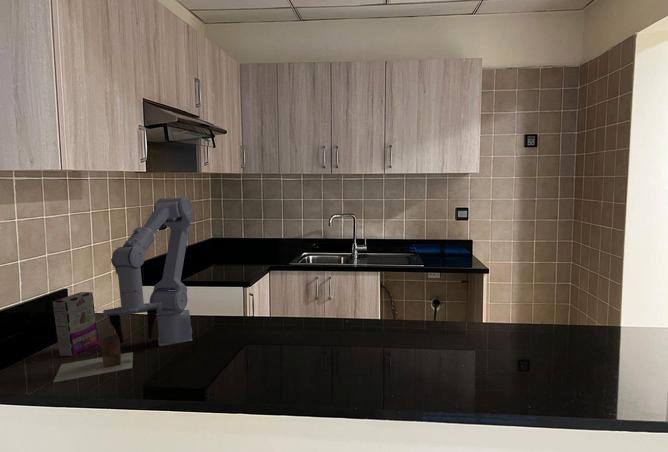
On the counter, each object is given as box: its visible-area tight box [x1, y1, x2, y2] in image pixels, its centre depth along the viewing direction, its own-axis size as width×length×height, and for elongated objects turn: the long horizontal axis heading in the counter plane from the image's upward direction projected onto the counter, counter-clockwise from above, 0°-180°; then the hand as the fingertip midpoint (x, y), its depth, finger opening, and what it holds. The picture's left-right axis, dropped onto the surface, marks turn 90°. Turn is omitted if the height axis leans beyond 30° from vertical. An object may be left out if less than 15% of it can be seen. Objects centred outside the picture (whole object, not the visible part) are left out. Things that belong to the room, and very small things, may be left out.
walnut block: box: [100, 333, 122, 368], centre depth 129 cm, size 4×6×7 cm, turn 22°
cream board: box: [52, 351, 134, 383], centre depth 128 cm, size 18×14×1 cm
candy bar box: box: [52, 291, 100, 357], centre depth 143 cm, size 11×5×16 cm, turn 168°
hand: (136, 339), depth 131 cm, fingers open, 6 cm apart
